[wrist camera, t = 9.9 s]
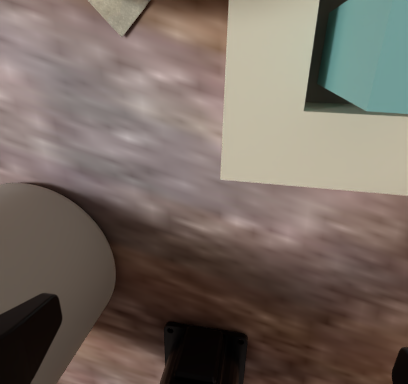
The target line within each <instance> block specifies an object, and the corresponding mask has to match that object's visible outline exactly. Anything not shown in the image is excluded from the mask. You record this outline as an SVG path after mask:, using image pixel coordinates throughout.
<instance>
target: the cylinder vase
mask: <svg viewBox="0 0 408 384" xmlns="http://www.w3.org/2000/svg"><path fill="white" fill-rule="evenodd" d="M115 281H116V267H115V261H114V257H113V253H112V250H111V248H110V245H109V243H108V241H107V239H106V237H105V235H104V234H103V232H102V231H101V229H100V228H99V226H98V225H97V224H96V223H95V221H94V220H93V219H92V218H91V217H90V216H89V215H88V214H87V213H86V212H85V211H84V210H83V209H82V208H80V207H79V206H78V205H77V204H75V203H74V202H72V201H71V200H69V199H68V198H66V197H64V196H63V195H61V194H59V193H57V192H54V191H52V190H50V189H47V188H44V187H41V186H37V185H32V184H26V183H7V184H1V185H0V314H2V313H4V312H6V311H8V310H10V309H12V308H14V307H16V306H18V305H20V304H22V303H23V302H25V301H27V300H29V299H31V298H33V297H35V296H37V295H39V294H41V293H51V294H56V295H57V296H58V297H59V301H60V306H61V311H62V323H61V326H60V328H59V330H58V332H57V334H56V336H55V338H54V340H53V342H52V344H51V346H50V348H49V350H48V352H47V354H46V356H45V358H44V360H43V361H42V363H41V365H40V367H39V369H38V371H37V373H36V375H35V377H34V379H33V380H32V382H31V384H57V382H58V380H59V379H60V377H61V376H62V374H63V373H64V371H65V370H66V368H67V366H68V365H69V363H70V362H71V360H72V359H73V357H74V355H75V354H76V352H77V351H78V349H79V348H80V346H81V344H82V343H83V341H84V340H85V338H86V337H87V335H88V334H89V332H90V330H91V329H92V327H93V326H94V324H95V323H96V321H97V319H98V318H99V316H100V315H101V313H102V312H103V310H104V309H105V307H106V305H107V304H108V302H109V300H110V298H111V296H112V294H113V291H114V287H115Z"/></svg>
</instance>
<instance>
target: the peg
mask: <svg viewBox="0 0 408 384" xmlns="http://www.w3.org/2000/svg"><path fill="white" fill-rule="evenodd" d="M317 84H318V85H320V86H322V87H324V88H326V89H327V90H329V91H331V92H333V93H335V94H336V95H338V96H340V97H342V98H344V99H345V100H347V101H349V102H351V103H353V104H354V105H356V106H358V107H360V108H361V109H363V110H365V111H370V112H385V113H400V114H408V0H347V1H346V2H344V3H343V4H341V5H340V6H339V7H337V8H336V9H334V10H333V11H331V12H330V13H329V17H328V23H327V29H326V35H325V40H324V46H323V52H322V58H321V64H320V70H319V75H318V81H317Z"/></svg>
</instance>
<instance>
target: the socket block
mask: <svg viewBox="0 0 408 384" xmlns="http://www.w3.org/2000/svg"><path fill="white" fill-rule="evenodd" d="M346 1H347V0H229V8H228V29H227V50H226V71H225V92H224V113H223V134H222V155H221V176H220V180H231V181H242V182H254V183H265V184H277V185H289V186H300V187H312V188H324V189H335V190H347V191H359V192H370V193H382V194H394V195H405V196H408V114H400V113H385V112H370V111H365V110H363V109H361V108H360V107H358V106H356V105H354V104H353V103H351V102H349V101H347V100H345V99H344V98H342V97H340V96H338V95H336V94H335V93H333V92H331V91H329V90H327V89H326V88H324V87H322V86H320V85H318V84H317V81H318V75H319V70H320V64H321V58H322V52H323V46H324V40H325V35H326V29H327V23H328V17H329V13H330V12H331V11H333V10H334V9H336V8H337V7H339V6H340V5H341V4H343V3H344V2H346Z"/></svg>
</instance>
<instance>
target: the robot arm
mask: <svg viewBox="0 0 408 384" xmlns="http://www.w3.org/2000/svg"><path fill="white" fill-rule="evenodd" d="M61 323H62V311H61V306H60V301H59V297H58V296H57V295H56V294H51V293H41V294H39V295H37V296H35V297H33V298H31V299H29V300H27V301H25V302H23V303H22V304H20V305H18V306H16V307H14V308H12V309H10V310H8V311H6V312H4V313H2V314H0V384H31V382H32V380H33V379H34V377H35V375H36V373H37V371H38V369H39V367H40V365H41V363H42V361H43V360H44V358H45V356H46V354H47V352H48V350H49V348H50V346H51V344H52V342H53V340H54V338H55V336H56V334H57V332H58V330H59V328H60V326H61ZM170 328H171V329H170ZM247 342H248V338H247V336H246V335H245V334H243V333H238V332H232V331H225V330H219V329H213V328H206V327H200V326H194V325H187V324H181V323H174V322H168V323H167V324H166V325H165V328H164V343H165V369H164V372H163V375H162V378H161V381H160V384H243V380H244V371H245V361H246V352H247ZM392 381H393V384H408V348H407V347H403V348H401V349H400V351H399V353H398V356H397V359H396V362H395V364H394V367H393V370H392Z"/></svg>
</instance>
